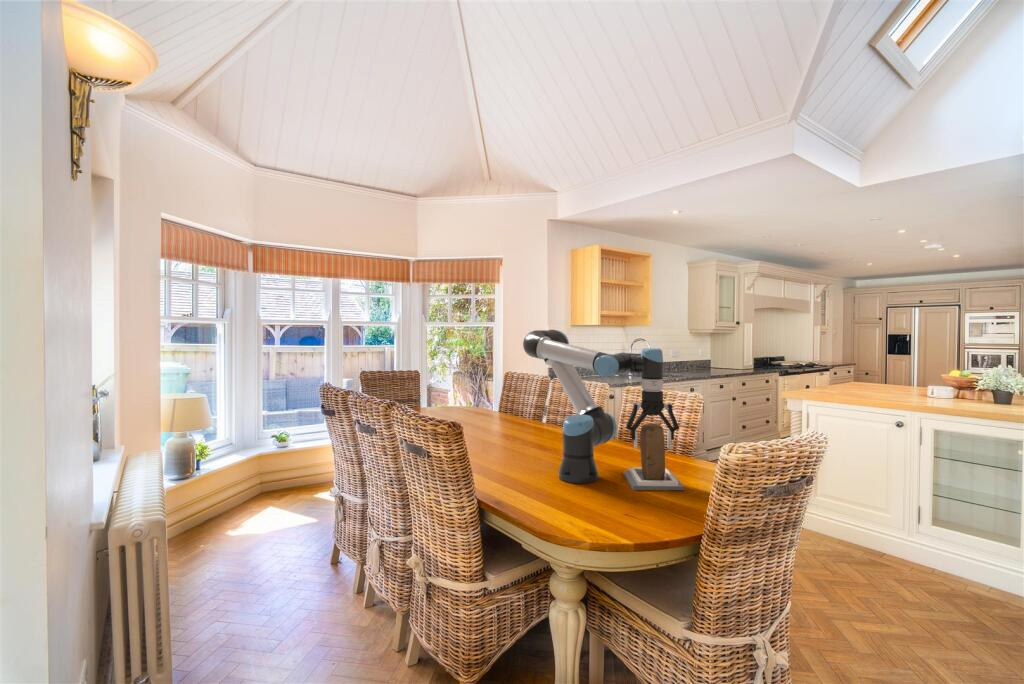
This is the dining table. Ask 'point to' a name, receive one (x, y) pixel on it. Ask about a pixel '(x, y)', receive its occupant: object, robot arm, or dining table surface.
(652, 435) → the block
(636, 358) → the robot arm
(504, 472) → the dining table surface
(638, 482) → the base plate
